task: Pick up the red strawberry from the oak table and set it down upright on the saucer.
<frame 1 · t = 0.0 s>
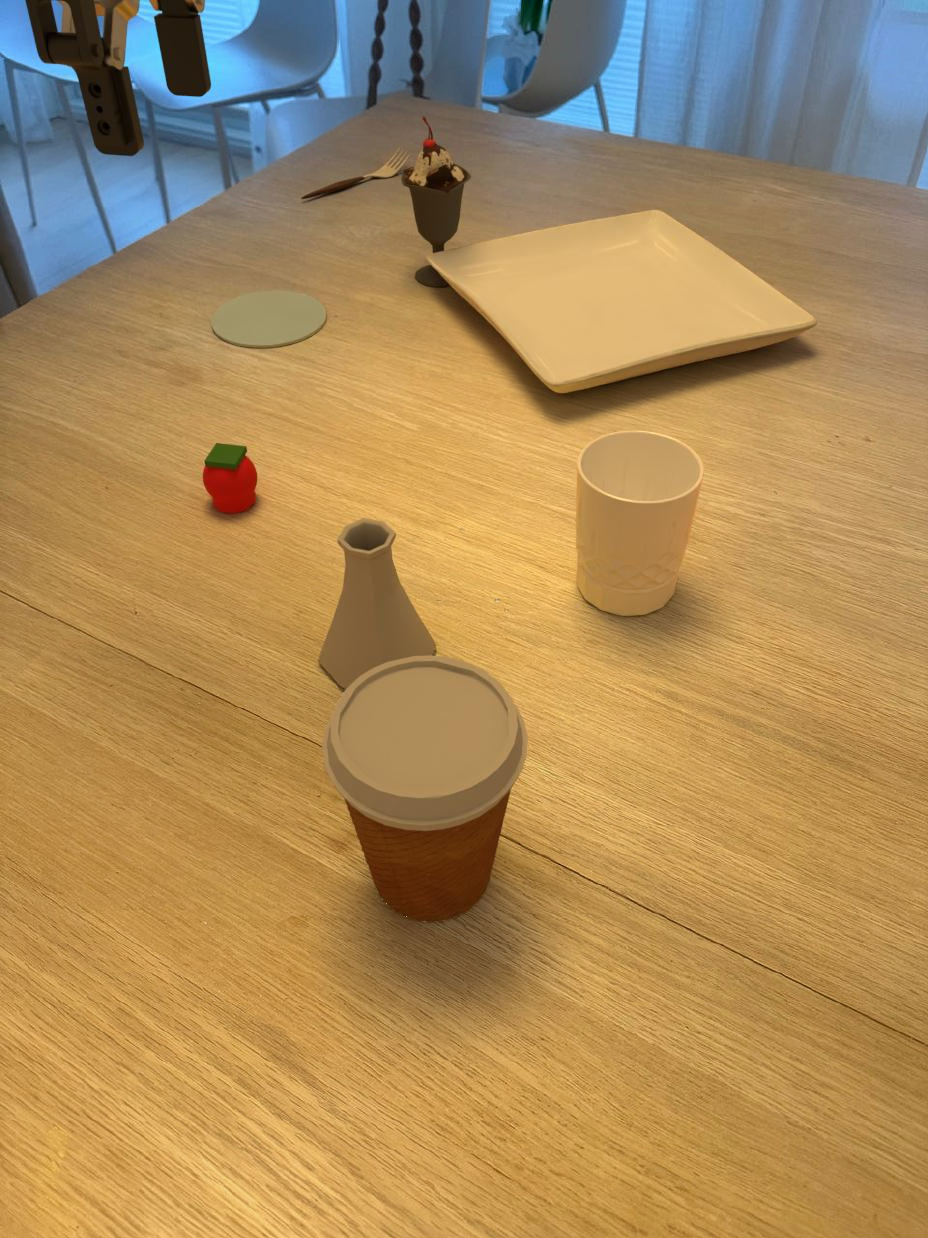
hand: (157, 121, 53), 30 cm above the table, tool pointing down, fingers open, 8 cm apart
sundae: (438, 277, 108), on the table
flask: (378, 658, 68), on the table
white cup: (624, 586, 73), on the table
saucer: (269, 319, 101), on the table
fork: (356, 185, 126), on the table
disposable coffee cup: (432, 872, 56), on the table
square plate: (608, 320, 101), on the table
strawberry: (234, 500, 80), on the table
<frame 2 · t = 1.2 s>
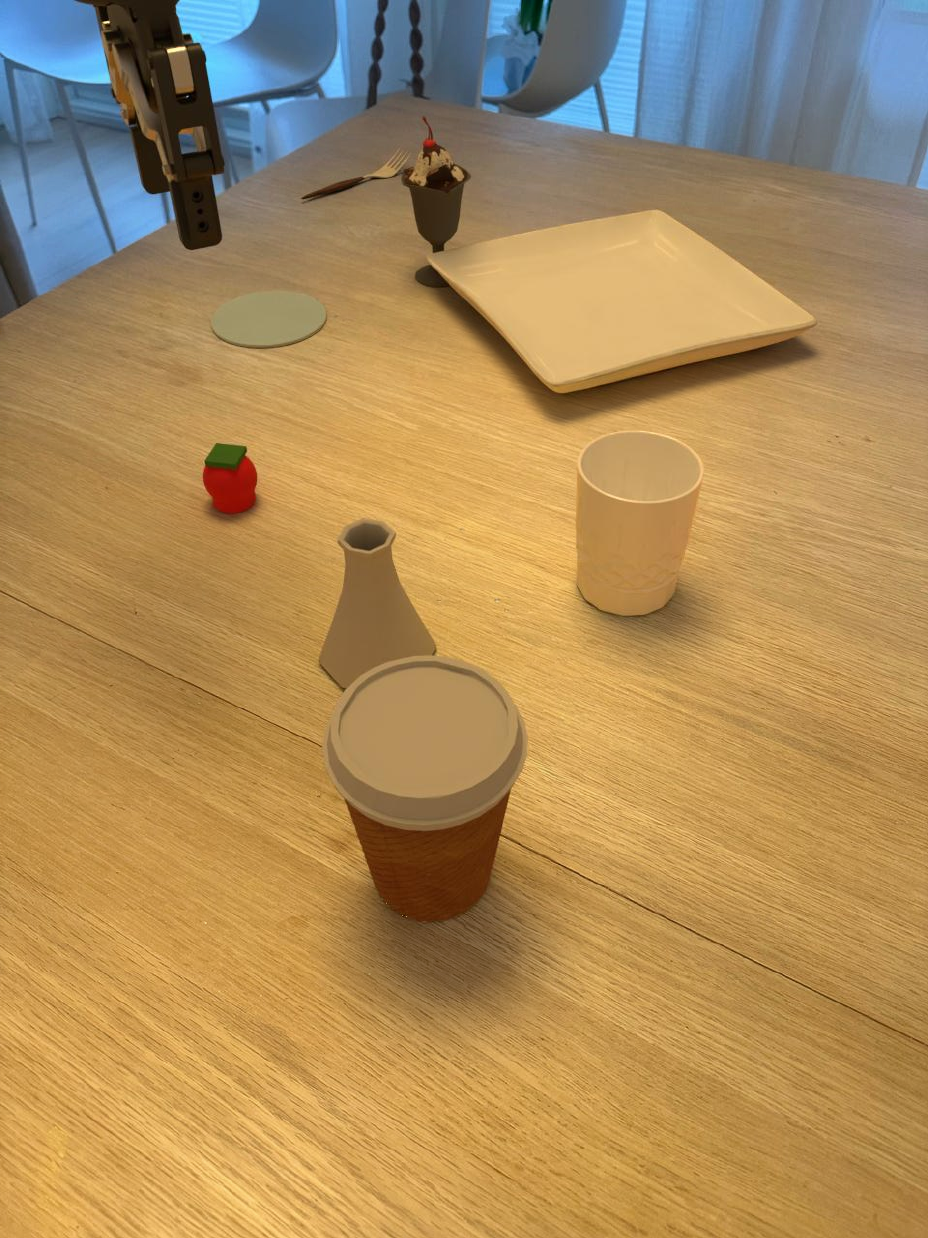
hand: (181, 216, 60), 24 cm above the table, tool pointing down, fingers open, 8 cm apart
nothing on the table moved.
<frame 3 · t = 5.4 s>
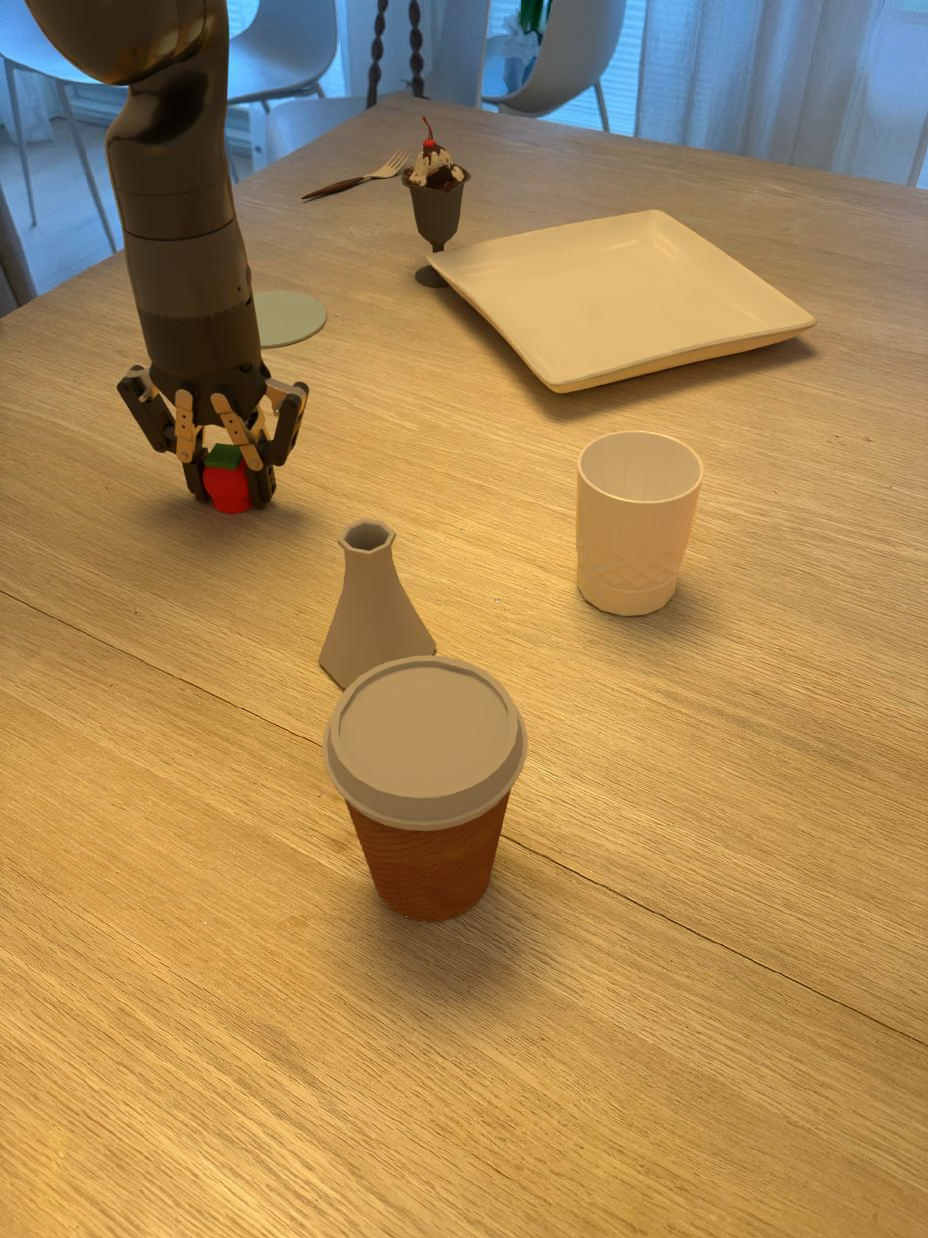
hand: (234, 498, 80), 0 cm above the table, tool pointing down, fingers closed on strawberry, 4 cm apart
strawberry: (234, 500, 80), on the table, touching gripper
everything else where it was.
when the fingers open (1 cm above the table, at t = 13.2 s): strawberry stays where it is, resting on saucer.
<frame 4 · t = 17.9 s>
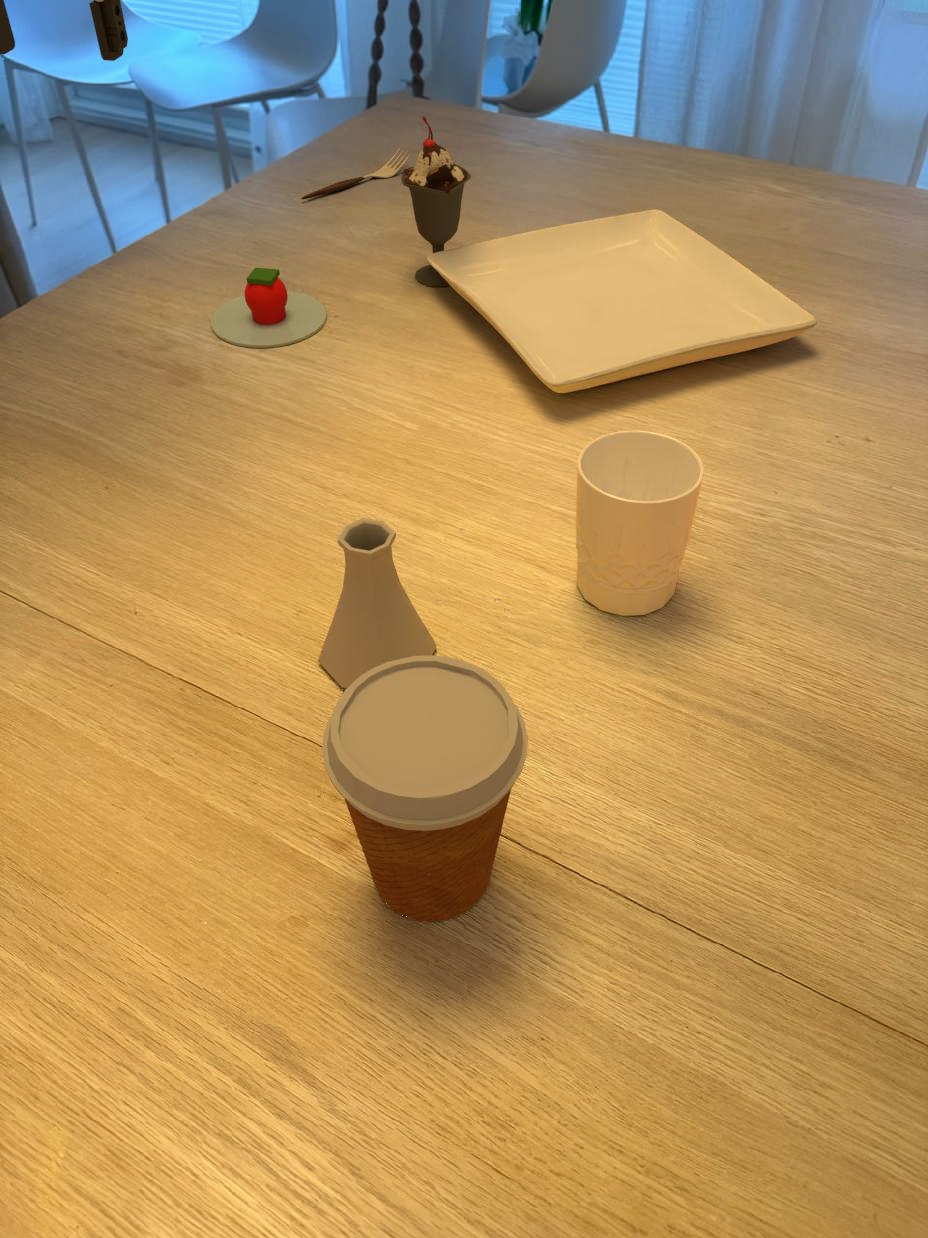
hand: (59, 54, 76), 26 cm above the table, tool pointing down, fingers open, 8 cm apart
strawberry: (269, 316, 101), resting on saucer
everything else where it was.
at the end: strawberry inside the target area on the saucer (0.1 cm from its centre), point 0.3 cm above the saucer's base; strawberry tilted 0°; the gripper is holding nothing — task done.
